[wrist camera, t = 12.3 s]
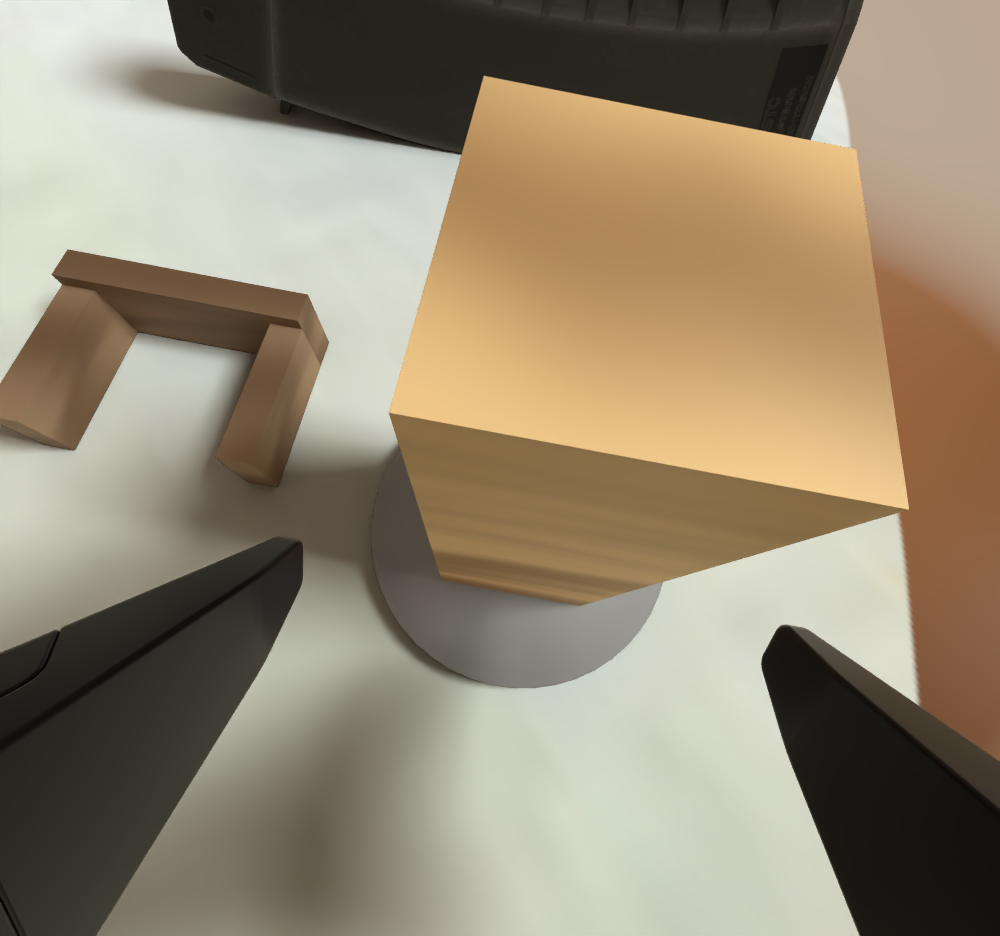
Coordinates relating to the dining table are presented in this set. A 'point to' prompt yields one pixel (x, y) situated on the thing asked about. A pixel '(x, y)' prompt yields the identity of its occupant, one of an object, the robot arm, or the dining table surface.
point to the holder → (175, 314)
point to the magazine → (525, 56)
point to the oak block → (642, 350)
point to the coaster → (490, 608)
